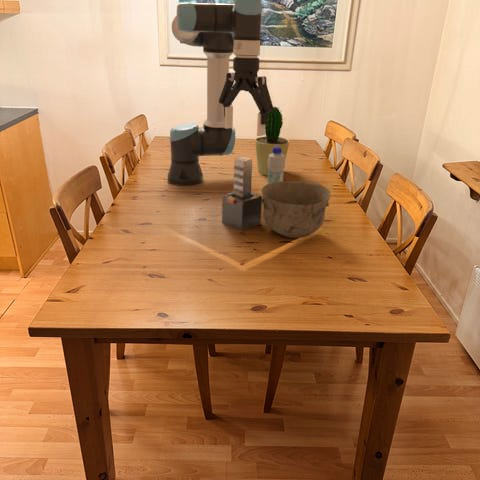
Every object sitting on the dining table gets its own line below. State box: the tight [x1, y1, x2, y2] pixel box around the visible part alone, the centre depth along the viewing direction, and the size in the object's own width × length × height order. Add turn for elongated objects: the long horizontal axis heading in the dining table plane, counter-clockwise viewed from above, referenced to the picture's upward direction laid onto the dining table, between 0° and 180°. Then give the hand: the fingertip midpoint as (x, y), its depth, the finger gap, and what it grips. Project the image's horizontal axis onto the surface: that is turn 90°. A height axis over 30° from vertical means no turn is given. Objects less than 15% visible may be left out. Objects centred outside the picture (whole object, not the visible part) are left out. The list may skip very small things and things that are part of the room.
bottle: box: [266, 147, 286, 185], centre depth 173 cm, size 7×7×20 cm
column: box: [232, 156, 253, 200], centre depth 146 cm, size 4×5×22 cm
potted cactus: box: [254, 106, 291, 177], centre depth 200 cm, size 15×15×30 cm
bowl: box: [261, 180, 332, 239], centre depth 143 cm, size 22×22×15 cm
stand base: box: [221, 191, 263, 232], centre depth 149 cm, size 14×14×11 cm
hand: (244, 131), depth 137 cm, fingers open, 13 cm apart
